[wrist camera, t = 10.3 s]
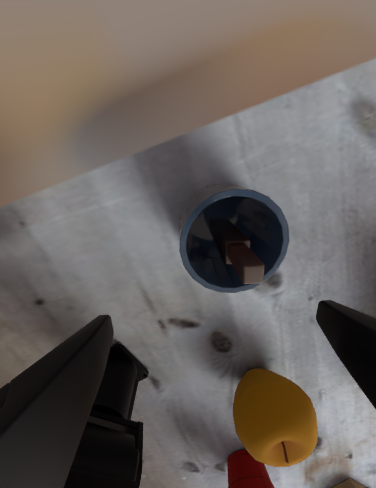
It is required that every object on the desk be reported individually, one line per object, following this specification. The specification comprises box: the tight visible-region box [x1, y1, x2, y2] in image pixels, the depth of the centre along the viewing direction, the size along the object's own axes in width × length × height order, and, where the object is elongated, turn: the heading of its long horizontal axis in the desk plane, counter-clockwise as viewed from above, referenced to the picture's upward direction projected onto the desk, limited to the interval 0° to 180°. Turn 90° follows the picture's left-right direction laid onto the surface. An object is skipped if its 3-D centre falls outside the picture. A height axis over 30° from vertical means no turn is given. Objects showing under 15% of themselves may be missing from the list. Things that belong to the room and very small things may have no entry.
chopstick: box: [211, 218, 264, 284], centre depth 15 cm, size 2×2×10 cm
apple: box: [233, 368, 318, 467], centre depth 23 cm, size 9×9×9 cm
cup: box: [180, 184, 289, 293], centre depth 17 cm, size 8×8×6 cm
